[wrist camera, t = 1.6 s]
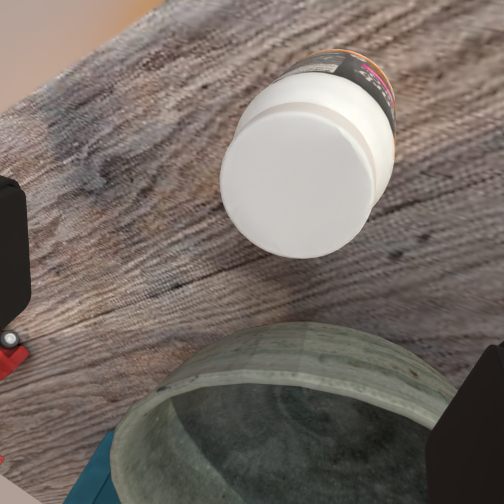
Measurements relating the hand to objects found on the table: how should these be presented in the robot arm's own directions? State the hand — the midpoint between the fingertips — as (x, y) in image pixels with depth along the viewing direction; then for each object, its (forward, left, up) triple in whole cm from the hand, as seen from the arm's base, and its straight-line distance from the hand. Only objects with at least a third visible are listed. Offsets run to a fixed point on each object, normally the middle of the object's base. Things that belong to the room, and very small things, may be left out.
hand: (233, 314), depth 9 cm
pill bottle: (0, 0, -16) cm, 16 cm away
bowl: (+17, +5, -16) cm, 23 cm away
